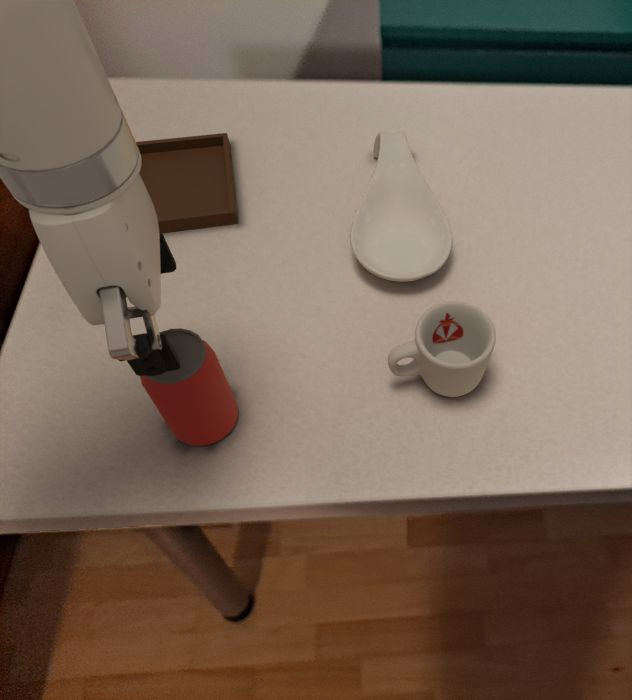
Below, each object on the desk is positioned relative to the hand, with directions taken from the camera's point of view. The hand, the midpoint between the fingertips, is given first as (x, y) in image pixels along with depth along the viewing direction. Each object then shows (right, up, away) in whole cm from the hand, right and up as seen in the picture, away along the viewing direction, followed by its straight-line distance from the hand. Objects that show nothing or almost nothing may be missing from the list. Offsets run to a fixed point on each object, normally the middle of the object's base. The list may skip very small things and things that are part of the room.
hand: (158, 318), depth 55 cm
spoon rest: (+16, +13, +31) cm, 37 cm away
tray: (-11, +18, +31) cm, 37 cm away
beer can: (-2, -9, +14) cm, 17 cm away
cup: (+22, -5, +19) cm, 29 cm away
